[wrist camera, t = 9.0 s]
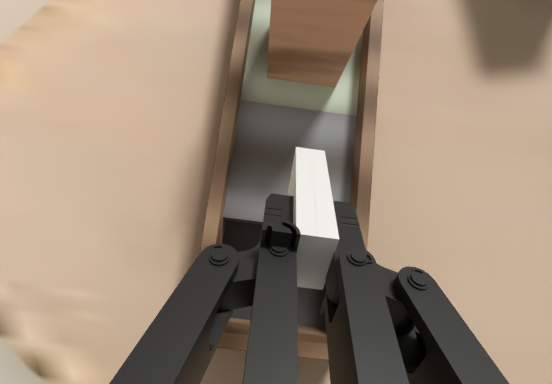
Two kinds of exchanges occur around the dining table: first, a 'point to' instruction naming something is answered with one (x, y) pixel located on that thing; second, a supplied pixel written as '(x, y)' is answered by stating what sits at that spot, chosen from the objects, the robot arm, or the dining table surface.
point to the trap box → (289, 151)
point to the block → (314, 38)
